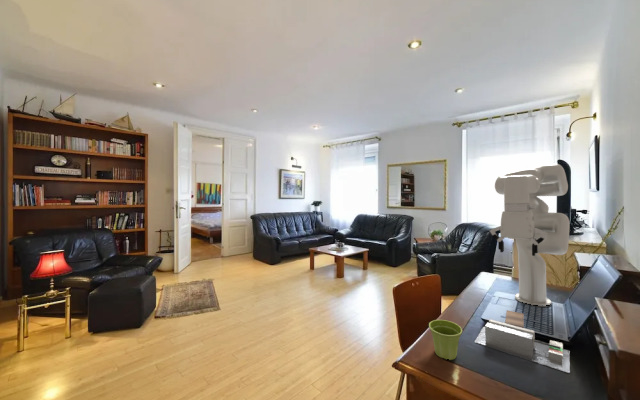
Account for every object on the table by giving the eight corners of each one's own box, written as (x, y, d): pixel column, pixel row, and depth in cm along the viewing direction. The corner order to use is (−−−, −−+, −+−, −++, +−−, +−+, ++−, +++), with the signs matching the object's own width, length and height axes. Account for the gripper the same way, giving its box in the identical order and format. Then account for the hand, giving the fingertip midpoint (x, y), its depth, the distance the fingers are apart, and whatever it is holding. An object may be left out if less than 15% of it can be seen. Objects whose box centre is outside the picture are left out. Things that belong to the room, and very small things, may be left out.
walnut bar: (506, 323, 98) (506, 310, 98) (523, 327, 95) (523, 313, 95) (505, 337, 89) (505, 322, 89) (523, 342, 86) (523, 326, 86)
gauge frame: (483, 327, 96) (483, 310, 96) (569, 351, 80) (569, 331, 80) (474, 342, 87) (474, 324, 87) (569, 373, 71) (569, 351, 71)
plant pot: (470, 361, 77) (469, 332, 77) (441, 366, 76) (440, 337, 76) (449, 343, 87) (448, 318, 86) (423, 347, 85) (422, 321, 85)
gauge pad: (490, 333, 91) (490, 319, 91) (560, 354, 78) (560, 337, 78) (489, 335, 90) (489, 320, 90) (560, 356, 77) (560, 339, 77)
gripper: (547, 207, 95) (548, 254, 95) (491, 207, 107) (492, 248, 107) (546, 209, 89) (547, 258, 90) (487, 208, 101) (488, 252, 102)
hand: (517, 253), depth 98 cm, fingers open, 9 cm apart
